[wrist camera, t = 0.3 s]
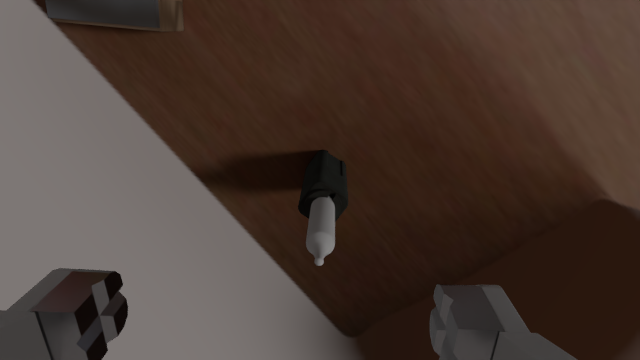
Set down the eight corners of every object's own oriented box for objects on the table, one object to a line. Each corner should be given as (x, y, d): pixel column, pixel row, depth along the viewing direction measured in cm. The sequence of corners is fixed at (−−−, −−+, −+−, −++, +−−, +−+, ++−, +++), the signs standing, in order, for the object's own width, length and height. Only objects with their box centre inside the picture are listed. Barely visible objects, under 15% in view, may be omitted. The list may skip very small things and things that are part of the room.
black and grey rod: (302, 172, 59) (281, 269, 35) (321, 146, 57) (311, 230, 34) (329, 190, 59) (326, 295, 36) (348, 165, 58) (357, 258, 35)
